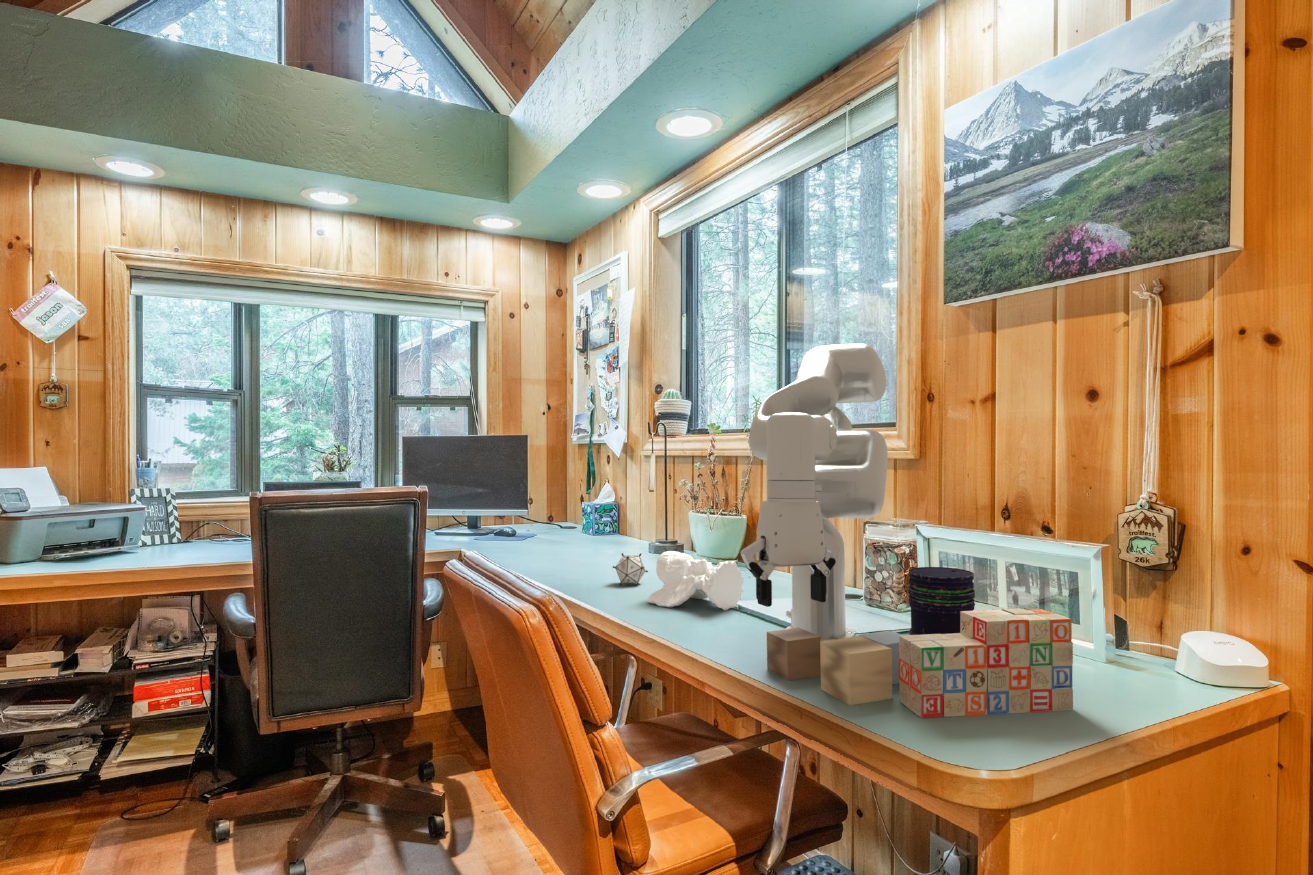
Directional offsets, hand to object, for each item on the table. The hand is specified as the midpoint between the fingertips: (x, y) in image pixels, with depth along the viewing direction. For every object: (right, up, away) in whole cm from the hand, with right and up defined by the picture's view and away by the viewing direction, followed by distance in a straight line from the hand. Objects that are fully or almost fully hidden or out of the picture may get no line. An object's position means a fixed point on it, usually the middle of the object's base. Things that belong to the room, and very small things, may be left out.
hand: (791, 602), depth 111 cm
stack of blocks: (+23, -11, -15) cm, 29 cm away
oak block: (+7, -11, -9) cm, 16 cm away
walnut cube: (0, -11, +1) cm, 11 cm away
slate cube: (+14, -11, -2) cm, 18 cm away
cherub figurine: (-13, -12, +49) cm, 52 cm away
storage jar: (+24, -11, +3) cm, 27 cm away
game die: (-28, -13, +73) cm, 79 cm away
